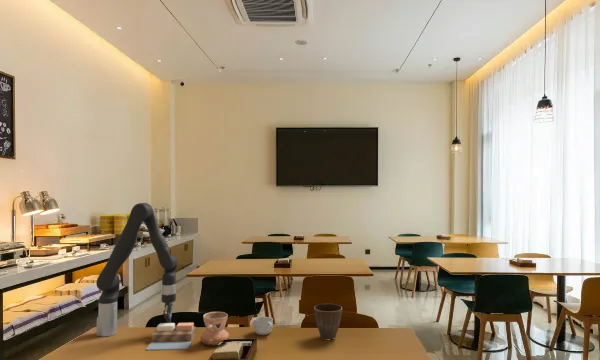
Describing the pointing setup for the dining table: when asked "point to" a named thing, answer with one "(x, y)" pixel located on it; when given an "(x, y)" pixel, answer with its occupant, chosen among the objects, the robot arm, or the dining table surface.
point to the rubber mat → (168, 345)
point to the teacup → (262, 325)
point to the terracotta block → (184, 326)
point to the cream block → (166, 327)
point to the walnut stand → (173, 335)
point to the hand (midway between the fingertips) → (168, 324)
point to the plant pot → (328, 319)
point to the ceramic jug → (214, 328)
